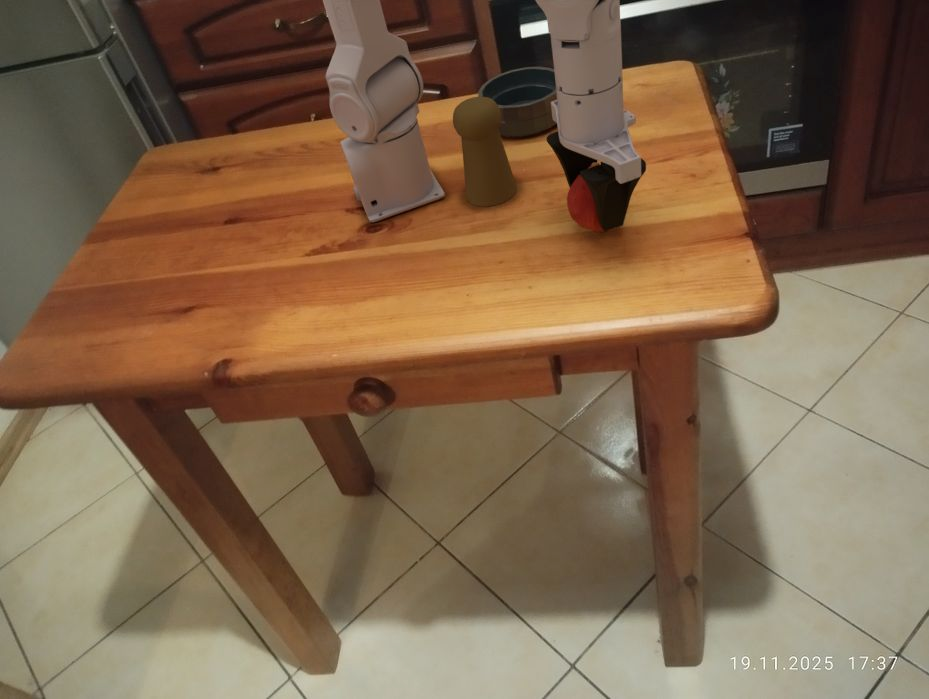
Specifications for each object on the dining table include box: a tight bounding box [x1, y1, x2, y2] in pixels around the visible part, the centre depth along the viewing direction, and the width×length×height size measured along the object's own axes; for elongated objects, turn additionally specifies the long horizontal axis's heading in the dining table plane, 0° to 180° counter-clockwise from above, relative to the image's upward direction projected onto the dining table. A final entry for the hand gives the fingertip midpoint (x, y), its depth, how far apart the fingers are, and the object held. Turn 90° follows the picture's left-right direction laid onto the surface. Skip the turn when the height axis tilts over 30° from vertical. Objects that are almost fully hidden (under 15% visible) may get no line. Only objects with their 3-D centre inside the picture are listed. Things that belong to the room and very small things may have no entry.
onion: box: [566, 162, 605, 234], centre depth 67 cm, size 6×6×8 cm
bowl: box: [477, 66, 557, 138], centre depth 88 cm, size 11×11×4 cm
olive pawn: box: [452, 96, 518, 208], centre depth 75 cm, size 6×6×11 cm
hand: (598, 211), depth 68 cm, fingers closed on onion, 6 cm apart
